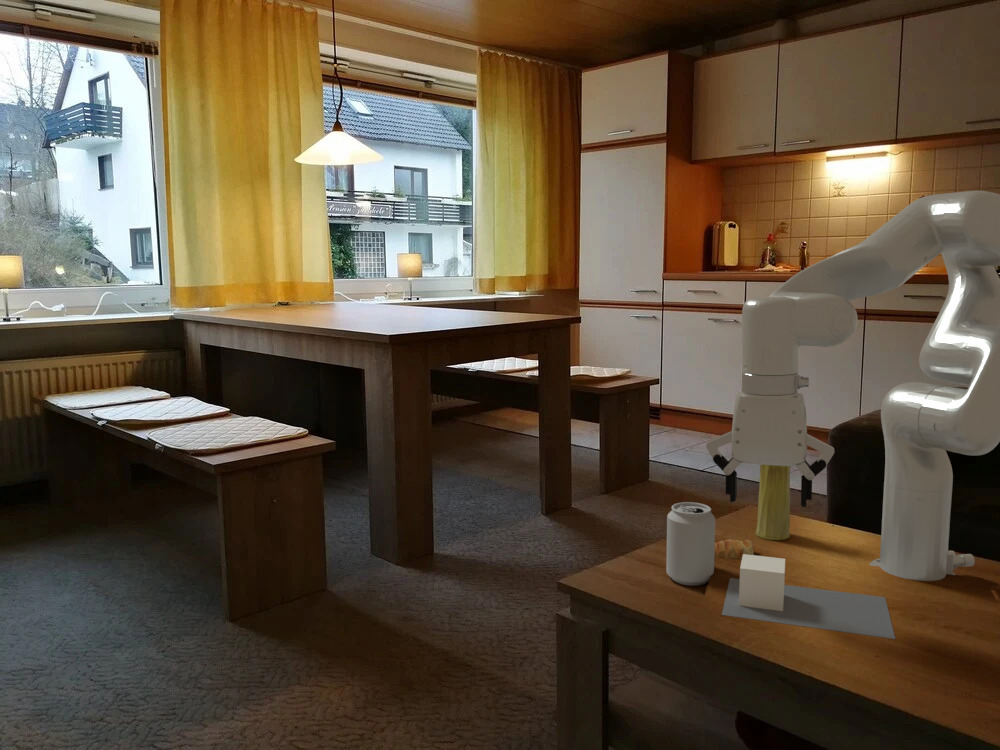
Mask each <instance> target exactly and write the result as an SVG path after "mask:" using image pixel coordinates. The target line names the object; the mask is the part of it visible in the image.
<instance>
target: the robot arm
mask: <svg viewBox="0 0 1000 750" xmlns="http://www.w3.org/2000/svg"><path fill="white" fill-rule="evenodd" d="M940 254H941V257H942V259H943V262H944V266H945V269H946V273H947V276H948V291H947V295H946V298H945V300H944V302H943V304H942V307H941V308H940V311H939V312H938V314H937V317H936V319H935V321H934V322H933V325H932V327H931V328H930V330H929V333H928V335H927V337H926V338H925V340H924V343H923V345H922V348H921V350H920V353H919V359H918V364H919V367H920V371H921V372H923V374H925V375H926V376H927V377H929V378H931V379H933V380H935V381H936V380H937V381H940V382H943V383H950V384H956V385H963V386H968V387H967V389H966V388H959V387H954V386H953V387H952V386H948V385H943V384H935V383H931V382H930V383H929V382H919V381H913V382H912V381H911V382H910V381H908V382H904V383H900V384H897V385H896V386H894V387H892V388H890V390H889V391H888V392H886V394H885V396H884V397H883V400H882V402H881V405H880V406H881V407H880V419H881V420H880V421H881V427H882V433H883V440H884V450H885V451H884V455H885V456H884V457H885V461H884V463H885V464H884V482H883V496H882V497H883V499H882V515H881V516H882V519H881V534H880V535H881V536H880V552H879V553H880V554H879V558H875V559H873V560H872V561H871V562H870V563H869V564H868V565H869V566H871V567H880V568H881V570H883V571H884V572H886V573H888V574H889V575H892V576H895V577H899V578H902V579H905V580H911V581H919V582H920V581H921V582H934V581H940V580H943V579H944V578H946V576H947V575H951V576H956V573H954V572H953V571H954V570H956V569H957V568H959V567H973V566H974V565H975V563H976V560H975V557H974V555H973V554H971V553H966V554H965V553H962V554H956V552H955V551H954V550H949V540H950V539H949V538H950V525H951V524H950V523H951V509H952V508H951V507H952V496H953V495H952V494H953V483H954V482H953V481H954V480H953V479H954V474H953V468H952V464H951V460H950V458H949V456H948V453H947V451H948V452H952V453H957V454H961V455H965V456H975V457H976V456H983V455H986V454H988V453H990V452H991V451H993V450H994V449H995V448H997V446H998V445H999V443H1000V276H999V274H998V272H997V271H996V268H995V267H998V266H999V267H1000V194H999V193H996V192H991V191H987V190H965V191H957V192H956V191H955V192H948V193H947V192H945V193H937V194H935V193H934V194H930V195H926V196H925V195H924V196H923V197H919V198H918V199H916V200H914V201H912V202H910V203H909V204H908V205H907V206H906V207H904V208H903V209H902V210H900V211H899V212H898V213H897V214H895V215H894V216H892V217H891V218H890V219H889V220H888V221H887V222H885V223H884V224H883V225H882V226H880V227H879V228H878V229H876V231H874V232H873V233H871V234H870V235H869V236H868V237H866V238H865V239H864V240H863V241H861V242H859V243H857V244H856V245H853V246H851V247H848V248H846V249H843V250H842V251H839V252H838V253H835V254H834V255H833V254H832V255H831V256H829V257H827V258H824V259H822V260H820V261H818V262H816V263H813V264H811V265H810V266H808V267H806V268H804V269H802V270H801V271H799V272H797V273H796V274H795V275H793V276H791V277H790V278H789V279H787V280H786V281H785V282H784V283H783V284H780V286H779V287H778V288H776V289H775V290H774V291H773V292H772V293H770V295H769V296H760V297H751V298H750V299H746V301H745V302H744V303H743V306H742V311H741V391H737V392H736V396H735V400H734V405H733V413H732V414H733V415H732V425H731V426H732V427H731V430H730V431H729V432H726V433H724V434H722V435H719V436H717V437H714V438H712V439H711V440H708V441H707V442H706V445H705V447H706V449H707V451H708V454H709V455H710V457H711V458H712V461H713V463H714V464H715V465H717V466H718V468H719V469H720V470H721V471H723V472H722V473H723V474H724V475H725V495H729V502H730V503H735V502H736V501H737V496H738V495H737V494H738V489H737V488H738V481H737V480H738V472H737V471H736V469H737V468H738V467H740V465H741V464H748V465H760V464H761V465H780V466H790V467H796V468H797V469H798V471H800V473H801V474H802V475H801V476H800V479H801V481H800V488H801V489H800V506H801V507H802V508H807V501H812V500H813V497H812V496H813V480H814V478H815V477H816V476H817V475H819V474H820V473H821V472H822V471H823V470H824V469H826V468H827V466H828V464H829V462H830V460H831V459H832V457H833V456H834V454H835V448H834V447H833V445H830V444H828V443H826V442H824V441H822V440H820V439H818V438H816V437H815V436H812V435H810V434H808V433H807V432H808V430H807V429H808V427H807V410H806V403H805V398H804V394H803V393H801V392H798V391H799V390H801V388H802V389H803V388H804V387H805V388H809V385H810V383H809V382H810V377H805V376H801V374H799V348H800V347H804V346H805V347H806V346H807V347H821V348H828V347H829V348H830V347H831V348H832V347H836V346H837V345H841V344H843V343H844V342H846V341H847V340H849V339H850V338H851V336H853V334H854V333H855V331H856V329H857V325H858V321H859V320H858V313H857V310H856V308H855V307H854V305H853V303H852V302H850V301H852V300H856V299H862V298H868V297H872V296H877V295H880V294H883V293H887V292H890V291H893V290H896V289H897V288H899V287H902V286H903V285H904V283H906V282H907V281H908V280H910V279H911V278H912V277H913V276H914V275H915V274H917V273H918V272H919V271H920V270H921V269H923V268H924V267H925V266H926V265H927V264H929V263H930V262H932V261H933V260H934V259H935V258H936V257H937V256H939V255H940ZM730 443H731V445H730V448H731V451H730V452H731V457H730V459H727V458H726V457H725V456H724V455H723V454H722V453H721V452H720V449H719V448H720V447H722V446H725V445H727V444H730ZM808 447H810V448H811V449H814V450H815V451H818V452H820V455H819V458H818V459H816V460H815V461H814V462H813V463H809V461H807V459H806V458H807V452H808V451H807V450H808Z"/></svg>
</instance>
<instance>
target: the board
mask: <svg viewBox="0 0 1000 750" xmlns="http://www.w3.org/2000/svg"><path fill="white" fill-rule="evenodd" d="M739 587H740V578H734V577H731V578H730V577H729V581H728V586H727V590H726V594H725V599H724V604H723V607H722V611H721V616H725V617H733V618H740V619H746V620H747V619H748V620H755V621H763V622H770V623H777V624H784V625H791V626H797V627H805V628H811V629H818V630H826V631H827V630H828V631H833V632H834V631H835V632H839V633H840V632H841V633H847V634H856V635H862V636H863V635H864V636H868V637H869V636H870V637H875V638H876V637H877V638H883V639H890V640H891V639H892V640H896V635H895V631H894V628H893V623H892V619H891V616H890V615H891V614H890V611H889V607H888V604H887V600H886V597H885V596H878V595H870V594H862V593H855V592H854V593H852V592H846V591H845V592H844V591H838V590H831V589H822V588H814V587H813V588H812V587H806V586H797V585H789V584H784V602H783V611H777V610H770V609H762V608H755V607H747V606H740V605H739Z"/></svg>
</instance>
